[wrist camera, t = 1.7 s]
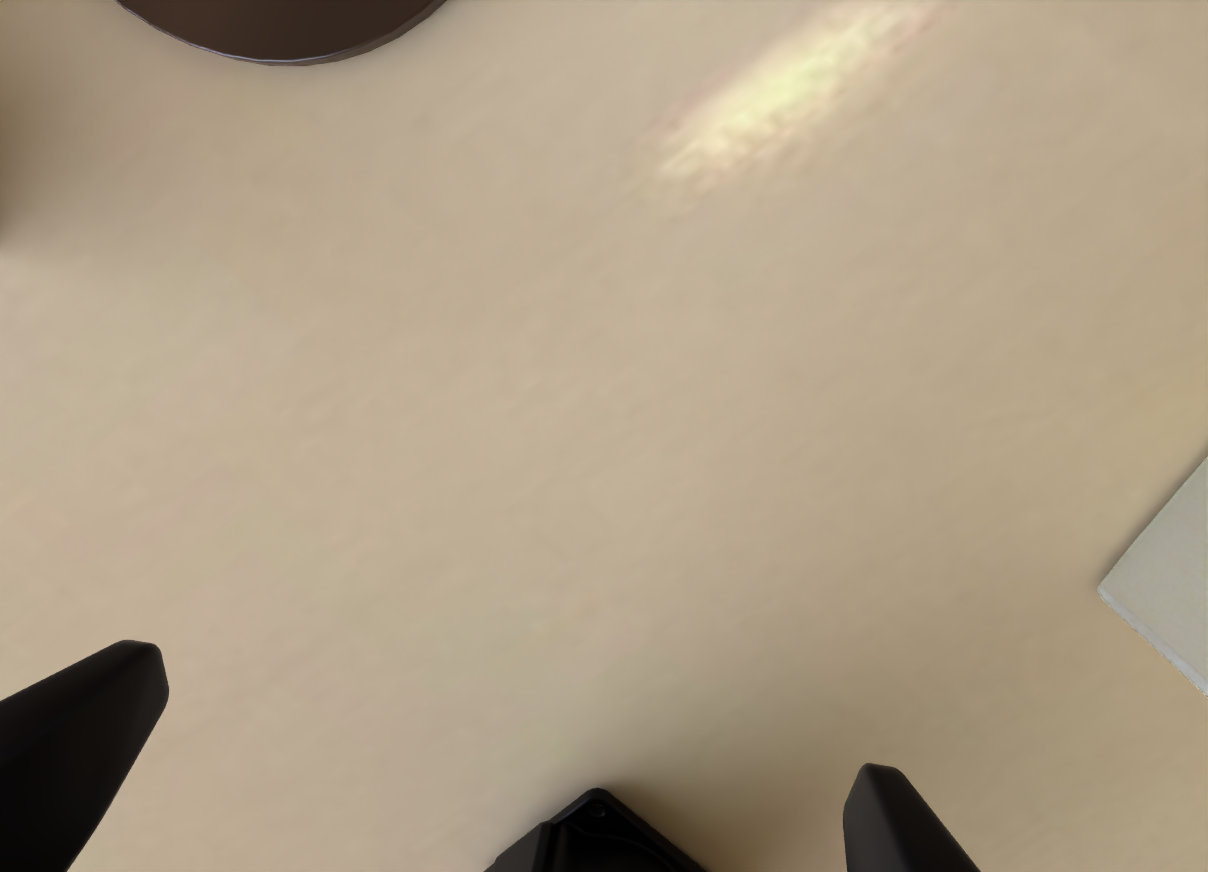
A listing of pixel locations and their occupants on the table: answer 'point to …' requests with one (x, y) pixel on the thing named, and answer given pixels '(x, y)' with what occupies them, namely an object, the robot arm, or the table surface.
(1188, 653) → the toy refrigerator
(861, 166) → the table surface
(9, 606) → the table surface
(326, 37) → the coaster
